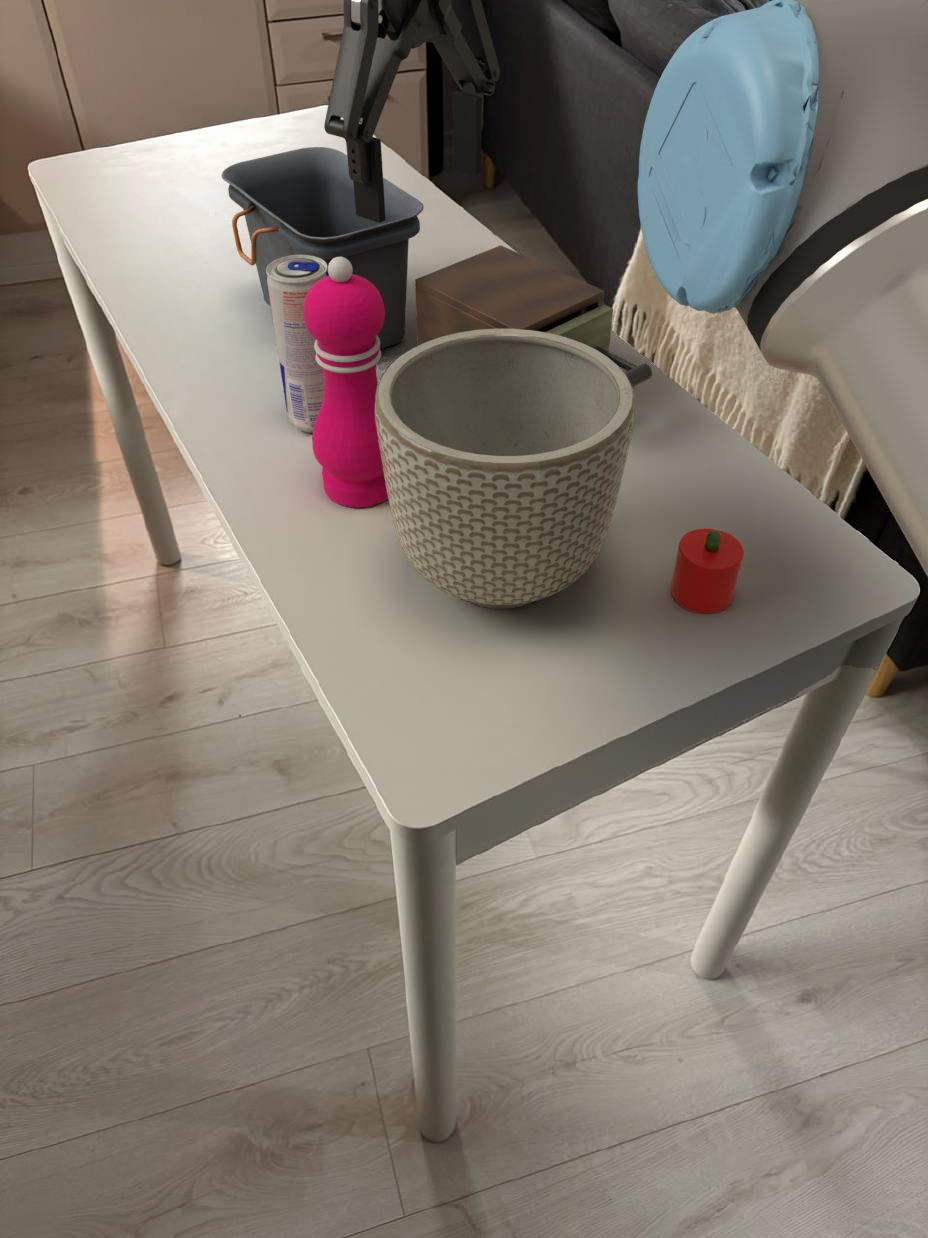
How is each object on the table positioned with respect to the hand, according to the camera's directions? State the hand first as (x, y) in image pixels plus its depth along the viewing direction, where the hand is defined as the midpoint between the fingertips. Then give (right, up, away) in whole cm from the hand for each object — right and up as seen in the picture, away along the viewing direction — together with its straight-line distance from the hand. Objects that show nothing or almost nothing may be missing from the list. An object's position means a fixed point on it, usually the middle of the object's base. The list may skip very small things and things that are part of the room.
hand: (421, 193), depth 87 cm
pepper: (+22, -36, -14) cm, 44 cm away
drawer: (+12, -16, +5) cm, 21 cm away
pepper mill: (-5, -27, -4) cm, 28 cm away
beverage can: (-10, -20, +4) cm, 22 cm away
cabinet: (+8, -14, +9) cm, 19 cm away
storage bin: (-11, -7, +17) cm, 21 cm away
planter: (+7, -35, -12) cm, 37 cm away
